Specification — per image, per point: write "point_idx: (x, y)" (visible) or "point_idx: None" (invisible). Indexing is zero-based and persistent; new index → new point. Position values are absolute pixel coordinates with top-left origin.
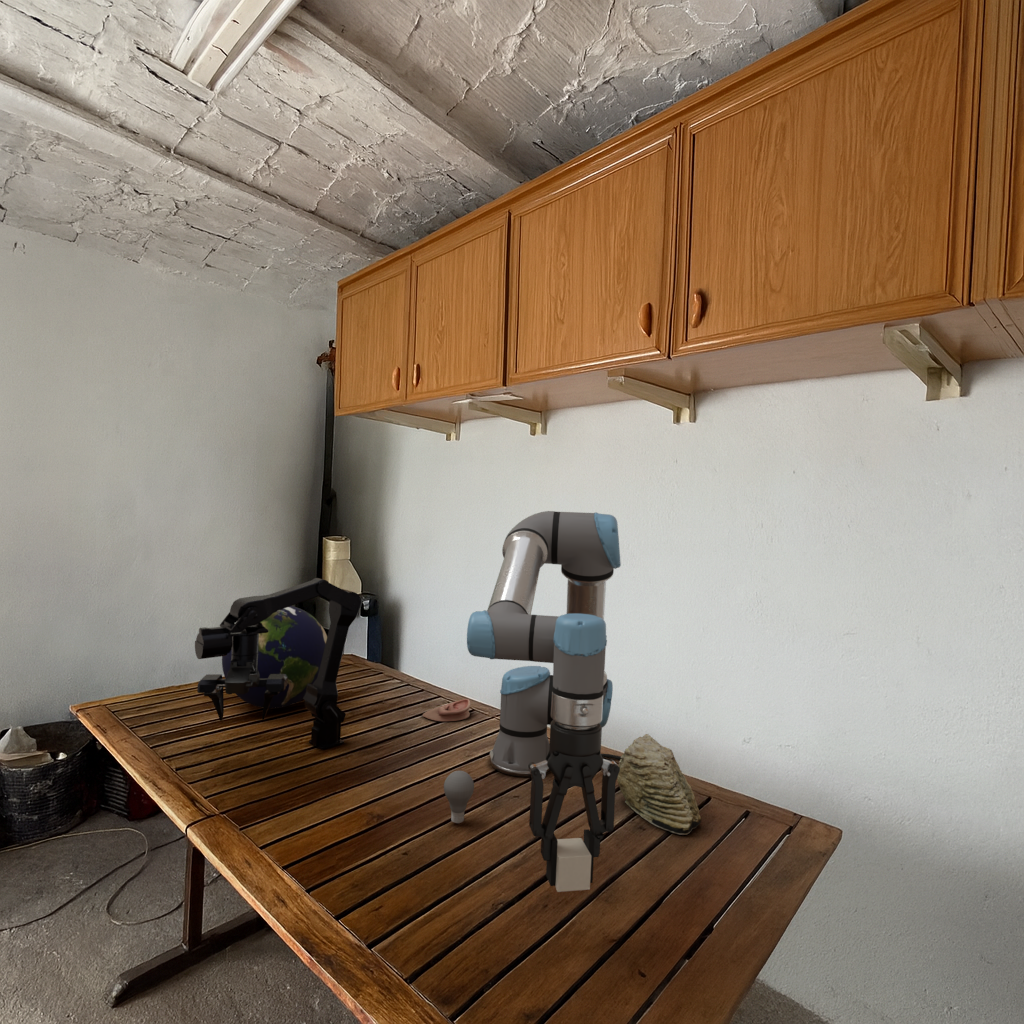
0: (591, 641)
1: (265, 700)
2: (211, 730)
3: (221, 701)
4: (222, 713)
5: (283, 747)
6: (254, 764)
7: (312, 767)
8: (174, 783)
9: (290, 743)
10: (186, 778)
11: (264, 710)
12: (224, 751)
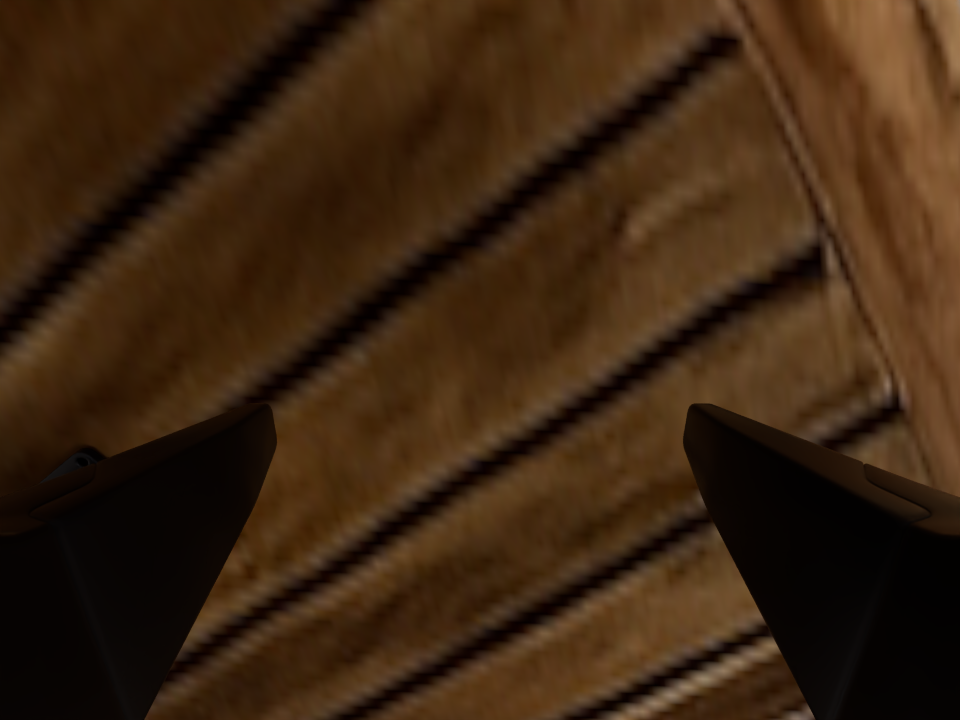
0: None
1: (38, 516)
2: (696, 685)
3: (823, 583)
4: (716, 461)
5: (310, 493)
6: (404, 290)
7: (49, 218)
8: (820, 45)
9: (290, 535)
10: (756, 119)
11: (181, 442)
12: (599, 467)
